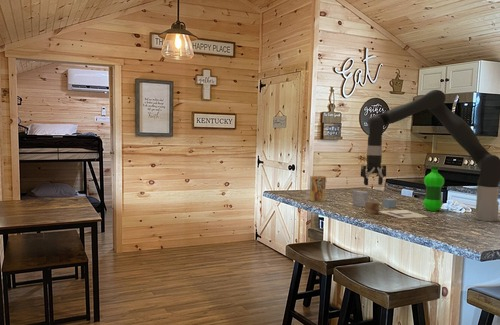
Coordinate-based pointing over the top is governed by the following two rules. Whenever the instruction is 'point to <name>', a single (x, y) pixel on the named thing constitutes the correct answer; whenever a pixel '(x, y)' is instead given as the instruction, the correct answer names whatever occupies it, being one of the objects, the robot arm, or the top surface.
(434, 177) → the plastic bottle
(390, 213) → the board
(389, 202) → the slate cube
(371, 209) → the walnut block
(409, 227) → the top surface
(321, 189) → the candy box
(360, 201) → the medicine box
